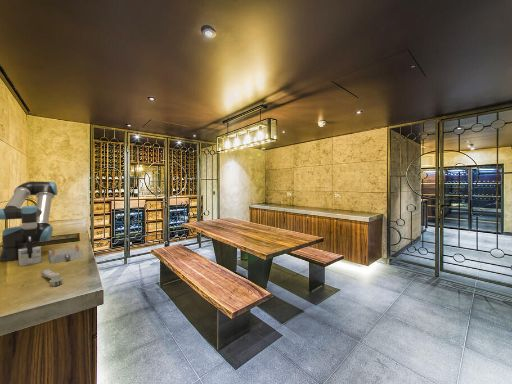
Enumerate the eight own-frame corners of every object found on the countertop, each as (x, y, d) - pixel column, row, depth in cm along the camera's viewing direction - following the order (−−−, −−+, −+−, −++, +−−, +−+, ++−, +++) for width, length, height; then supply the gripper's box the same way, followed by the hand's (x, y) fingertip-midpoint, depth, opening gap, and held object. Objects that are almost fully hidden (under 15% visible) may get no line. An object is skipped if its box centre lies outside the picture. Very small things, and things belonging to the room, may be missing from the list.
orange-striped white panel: (48, 257, 171) (48, 246, 171) (78, 252, 184) (78, 242, 184) (50, 264, 155) (50, 253, 155) (83, 258, 168) (83, 248, 168)
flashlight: (51, 267, 139) (63, 271, 124) (51, 278, 138) (64, 283, 124) (39, 270, 134) (51, 274, 120) (40, 281, 134) (51, 286, 119)
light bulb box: (39, 260, 163) (39, 245, 163) (41, 262, 159) (41, 247, 159) (18, 264, 154) (17, 249, 154) (19, 266, 151) (19, 250, 150)
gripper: (21, 227, 161) (22, 259, 161) (21, 231, 147) (22, 266, 147) (36, 225, 166) (37, 256, 167) (37, 229, 152) (38, 263, 152)
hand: (29, 261), depth 157 cm, fingers closed on light bulb box, 7 cm apart
